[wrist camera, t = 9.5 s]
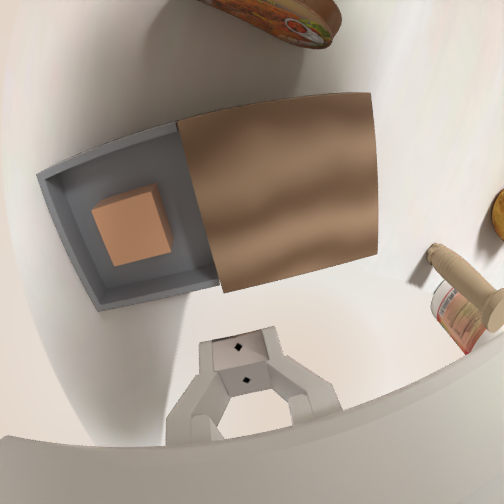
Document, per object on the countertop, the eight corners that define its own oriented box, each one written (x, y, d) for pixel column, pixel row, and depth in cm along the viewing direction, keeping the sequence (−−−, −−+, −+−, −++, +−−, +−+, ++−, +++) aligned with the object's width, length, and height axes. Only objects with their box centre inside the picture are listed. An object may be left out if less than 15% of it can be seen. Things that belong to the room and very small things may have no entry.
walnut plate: (182, 119, 24) (177, 121, 20) (345, 92, 25) (370, 92, 21) (220, 266, 32) (223, 293, 28) (356, 233, 33) (377, 254, 29)
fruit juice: (472, 263, 39) (577, 371, 15) (461, 305, 44) (546, 409, 20) (434, 279, 39) (545, 411, 15) (424, 322, 44) (510, 445, 19)
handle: (429, 274, 38) (490, 338, 25) (414, 250, 36) (485, 318, 23) (450, 252, 37) (515, 310, 24) (437, 226, 34) (512, 286, 21)
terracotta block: (151, 191, 24) (156, 182, 26) (91, 210, 23) (101, 199, 26) (171, 252, 27) (173, 237, 29) (114, 266, 26) (121, 251, 29)
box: (52, 165, 24) (36, 174, 21) (179, 119, 24) (175, 121, 21) (105, 293, 32) (97, 311, 29) (217, 266, 32) (219, 285, 29)
